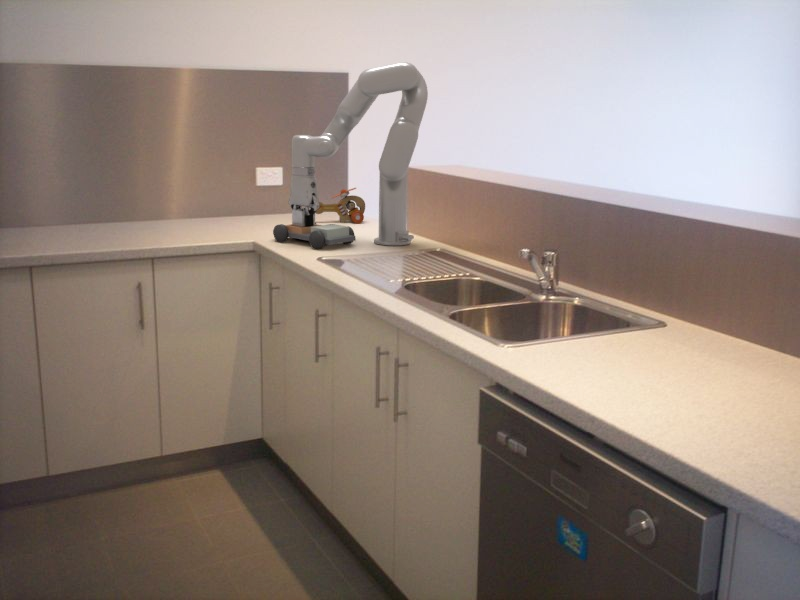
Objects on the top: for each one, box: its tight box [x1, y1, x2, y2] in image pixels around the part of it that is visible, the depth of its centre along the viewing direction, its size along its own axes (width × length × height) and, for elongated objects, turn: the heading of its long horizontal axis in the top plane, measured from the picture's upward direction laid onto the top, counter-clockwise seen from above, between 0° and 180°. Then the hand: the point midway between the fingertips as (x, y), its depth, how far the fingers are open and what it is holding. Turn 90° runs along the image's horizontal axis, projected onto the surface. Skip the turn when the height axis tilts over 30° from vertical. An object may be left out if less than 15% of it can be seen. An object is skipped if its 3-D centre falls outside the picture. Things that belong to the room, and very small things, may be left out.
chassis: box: [272, 222, 356, 250], centre depth 299 cm, size 28×15×6 cm, turn 48°
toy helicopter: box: [315, 187, 366, 224], centre depth 345 cm, size 8×21×14 cm, turn 101°
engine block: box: [291, 207, 316, 228], centre depth 301 cm, size 5×6×6 cm
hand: (303, 225), depth 302 cm, fingers closed on engine block, 4 cm apart
